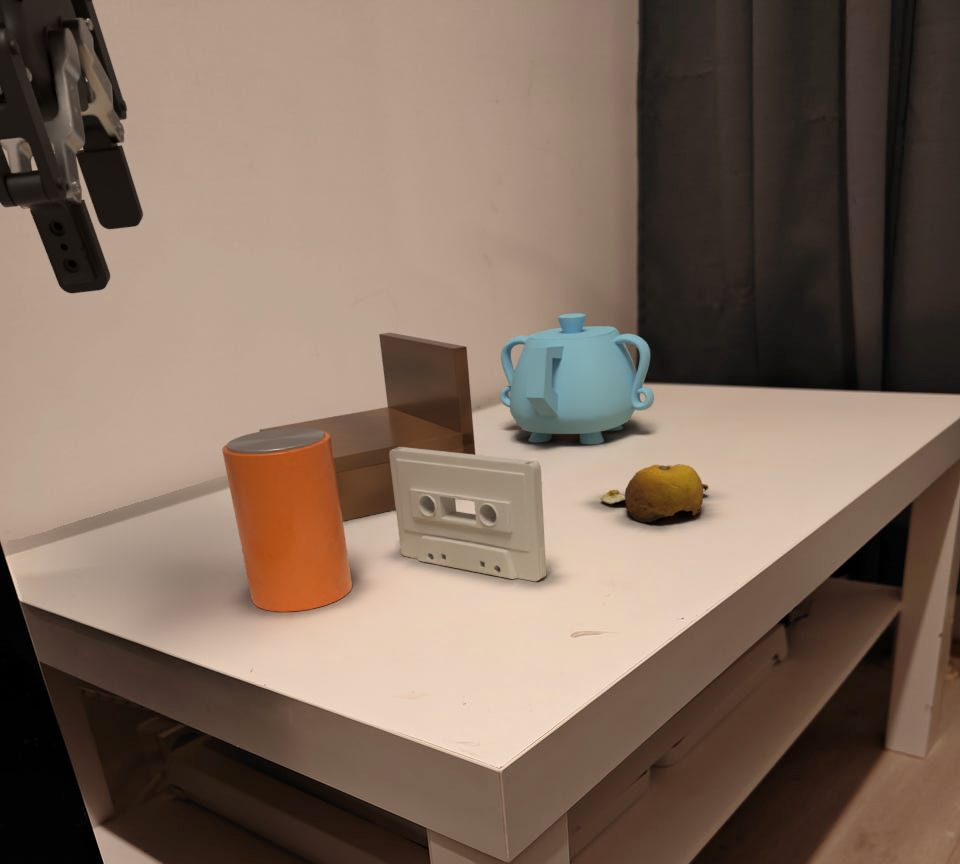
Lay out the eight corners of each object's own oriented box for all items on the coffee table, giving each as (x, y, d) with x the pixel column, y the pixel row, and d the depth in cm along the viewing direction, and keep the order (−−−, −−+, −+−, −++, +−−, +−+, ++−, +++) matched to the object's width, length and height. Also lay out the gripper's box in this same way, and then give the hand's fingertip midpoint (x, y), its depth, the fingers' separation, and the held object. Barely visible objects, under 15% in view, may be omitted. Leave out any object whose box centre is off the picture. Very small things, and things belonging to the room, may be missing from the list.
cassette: (395, 557, 66) (382, 451, 63) (413, 549, 68) (400, 444, 64) (535, 585, 59) (529, 467, 56) (551, 575, 61) (546, 459, 58)
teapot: (622, 460, 85) (620, 325, 80) (463, 453, 93) (452, 329, 88) (684, 413, 101) (685, 298, 96) (543, 410, 109) (538, 303, 104)
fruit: (700, 489, 75) (700, 444, 74) (730, 520, 68) (732, 470, 66) (598, 499, 75) (597, 454, 74) (617, 531, 68) (616, 481, 66)
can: (267, 620, 58) (236, 458, 53) (240, 589, 63) (210, 439, 59) (366, 594, 60) (344, 438, 56) (332, 566, 66) (310, 421, 61)
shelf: (324, 525, 75) (300, 372, 70) (268, 484, 88) (245, 353, 83) (478, 491, 80) (466, 346, 75) (404, 457, 93) (390, 332, 88)
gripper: (-76, -172, 41) (66, 217, 51) (-232, -162, 30) (-12, 324, 41) (96, -191, 41) (201, 201, 52) (0, -188, 30) (158, 304, 41)
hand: (107, 255), depth 46 cm, fingers open, 8 cm apart
